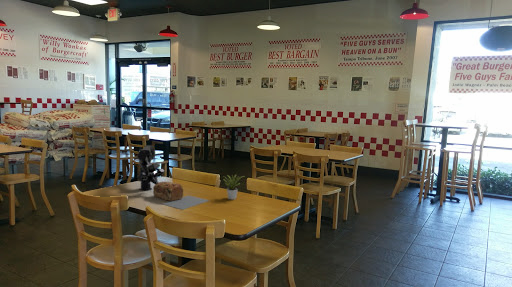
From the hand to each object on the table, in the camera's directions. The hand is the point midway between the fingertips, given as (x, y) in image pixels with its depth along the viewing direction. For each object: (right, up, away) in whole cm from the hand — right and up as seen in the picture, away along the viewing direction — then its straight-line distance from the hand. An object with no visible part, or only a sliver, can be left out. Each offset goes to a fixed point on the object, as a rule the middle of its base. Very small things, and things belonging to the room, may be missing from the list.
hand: (157, 184), depth 237 cm
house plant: (+50, -9, +1) cm, 51 cm away
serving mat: (+21, -10, -12) cm, 26 cm away
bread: (+8, -8, -4) cm, 12 cm away
